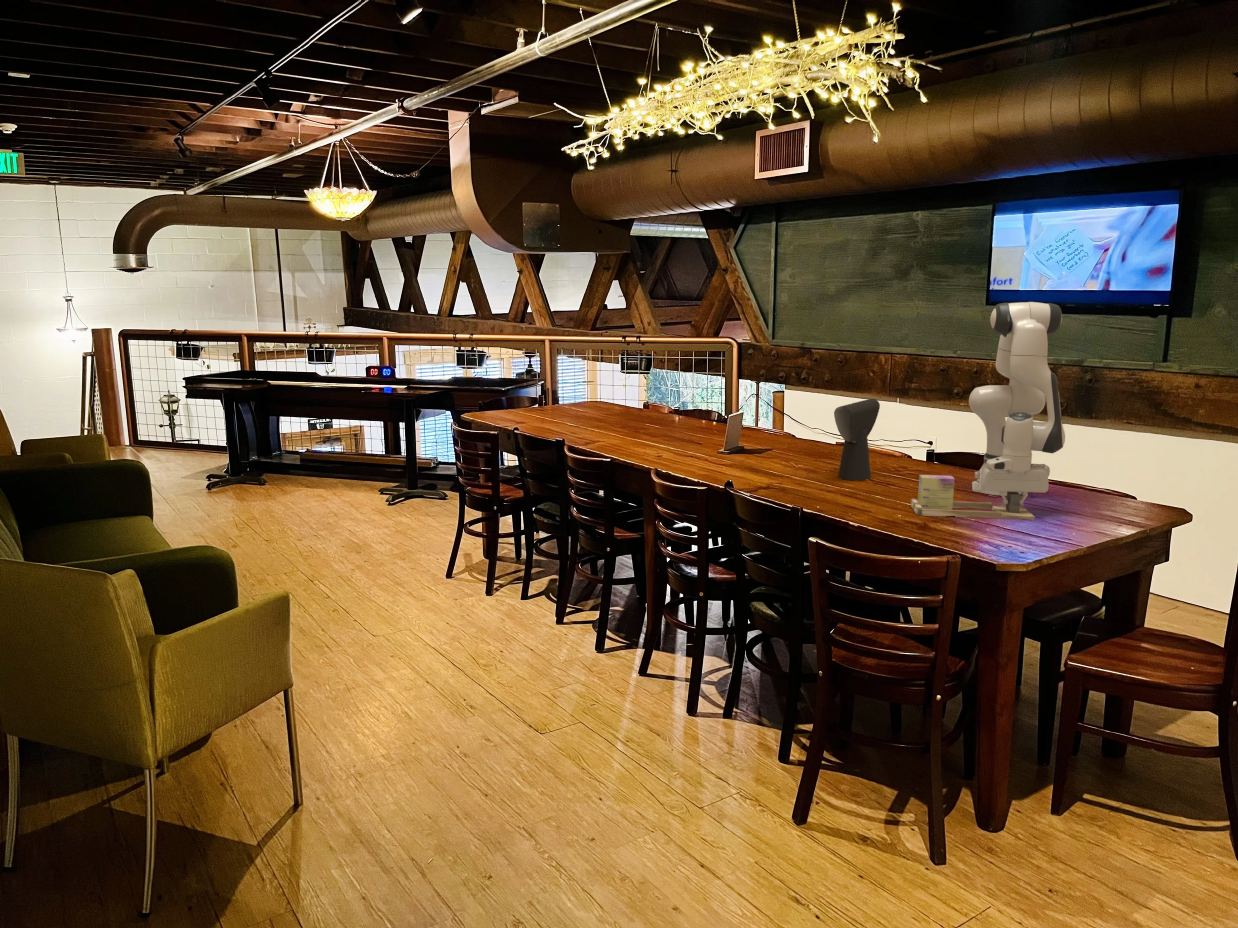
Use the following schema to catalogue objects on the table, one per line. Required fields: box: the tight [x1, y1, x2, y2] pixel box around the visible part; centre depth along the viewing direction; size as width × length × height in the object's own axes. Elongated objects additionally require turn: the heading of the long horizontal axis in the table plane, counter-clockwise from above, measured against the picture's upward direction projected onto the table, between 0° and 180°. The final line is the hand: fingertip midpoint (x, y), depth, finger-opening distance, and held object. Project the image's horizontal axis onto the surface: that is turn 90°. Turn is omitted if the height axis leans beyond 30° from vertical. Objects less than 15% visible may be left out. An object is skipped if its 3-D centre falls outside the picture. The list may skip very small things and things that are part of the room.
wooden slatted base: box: [910, 492, 1035, 521], centre depth 293 cm, size 14×36×7 cm, turn 80°
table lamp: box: [807, 398, 881, 481], centre depth 344 cm, size 40×28×30 cm
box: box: [917, 474, 956, 510], centre depth 295 cm, size 10×6×12 cm, turn 80°
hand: (1012, 504), depth 291 cm, fingers closed on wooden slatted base, 3 cm apart
